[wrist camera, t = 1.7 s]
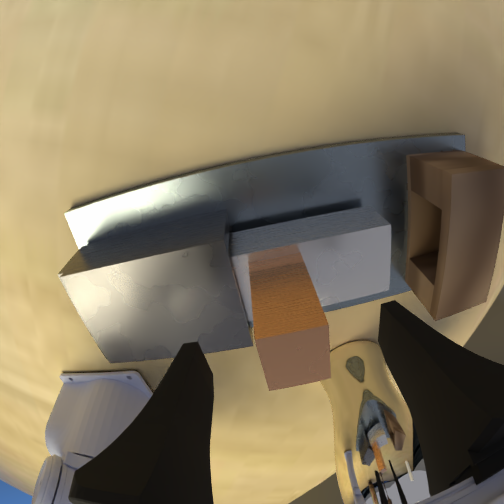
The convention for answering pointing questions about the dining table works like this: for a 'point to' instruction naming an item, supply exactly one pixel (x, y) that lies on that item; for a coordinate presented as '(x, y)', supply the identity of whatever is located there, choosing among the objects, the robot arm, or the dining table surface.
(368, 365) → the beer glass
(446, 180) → the socket block
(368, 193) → the outer sleeve
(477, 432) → the robot arm
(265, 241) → the grey slider with handle
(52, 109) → the dining table surface
